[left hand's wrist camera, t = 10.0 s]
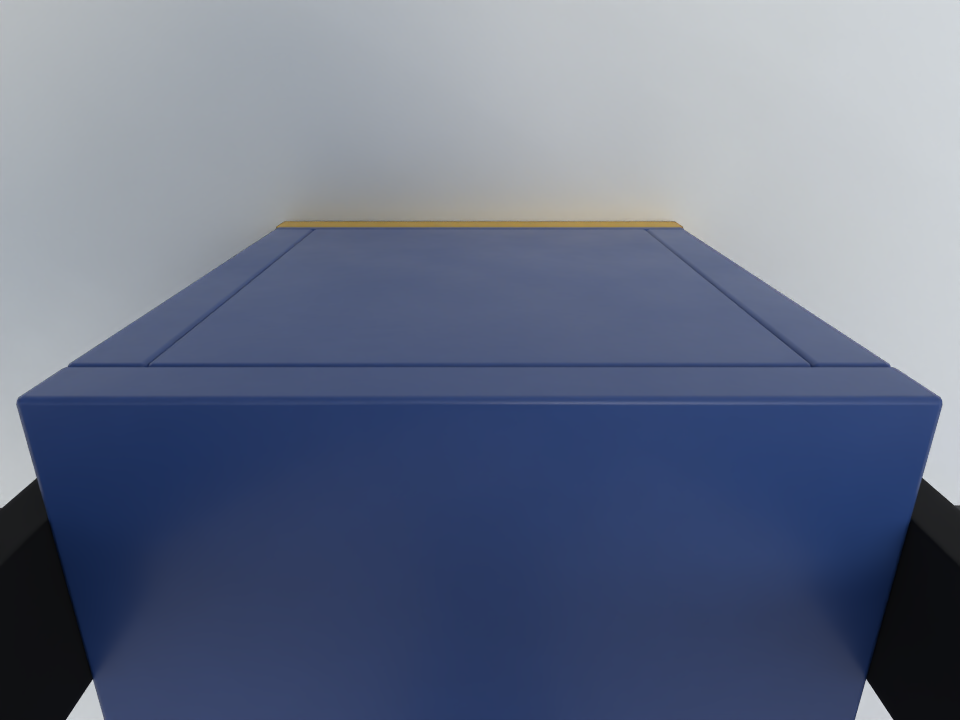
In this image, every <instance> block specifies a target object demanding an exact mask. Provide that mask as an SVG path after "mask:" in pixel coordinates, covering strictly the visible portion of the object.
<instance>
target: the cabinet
mask: <svg viewBox="0 0 960 720" xmlns="http://www.w3.org/2000/svg"><path fill="white" fill-rule="evenodd" d="M17 408H18V412H19V415H20V419H21V422H22V426H23V430H24V433H25V437H26V440H27V444H28V448H29V451H30V455H31V458H32V462H33V466H34V469H35V473H36V476H37V480H38V483H39V487H40V491H41V494H42V498H43V501H44V505H45V509H46V512H47V516H48V519H49V523H50V527H51V530H52V534H53V537H54V541H55V544H56V548H57V552H58V555H59V559H60V562H61V566H62V570H63V573H64V577H65V580H66V584H67V588H68V591H69V595H70V598H71V602H72V605H73V609H74V613H75V616H76V620H77V623H78V627H79V631H80V634H81V638H82V641H83V645H84V649H85V652H86V656H87V659H88V663H89V666H90V670H91V674H92V677H93V681H94V684H95V688H96V692H97V695H98V699H99V702H100V706H101V710H102V713H103V717H104V720H855V717H856V713H857V710H858V706H859V702H860V699H861V695H862V692H863V688H864V685H865V681H866V677H867V674H868V670H869V667H870V663H871V659H872V656H873V652H874V649H875V645H876V641H877V638H878V634H879V631H880V627H881V623H882V620H883V616H884V613H885V609H886V606H887V602H888V598H889V595H890V591H891V588H892V584H893V580H894V577H895V573H896V570H897V566H898V562H899V559H900V555H901V552H902V548H903V544H904V541H905V537H906V534H907V530H908V526H909V523H910V519H911V516H912V512H913V509H914V505H915V501H916V498H917V494H918V491H919V487H920V483H921V480H922V476H923V473H924V469H925V465H926V462H927V458H928V455H929V451H930V447H931V444H932V440H933V437H934V433H935V430H936V426H937V422H938V419H939V415H940V412H941V408H942V399H941V398H940V397H939V396H937V395H936V394H934V393H933V392H931V391H930V390H928V389H927V388H925V387H924V386H922V385H921V384H919V383H918V382H916V381H915V380H913V379H912V378H910V377H908V376H907V375H905V374H904V373H902V372H901V371H899V370H898V369H896V368H893V367H891V366H890V364H889V363H887V362H886V361H884V360H882V359H881V358H879V357H878V356H876V355H875V354H873V353H872V352H870V351H869V350H867V349H866V348H864V347H863V346H861V345H860V344H858V343H856V342H855V341H853V340H852V339H850V338H849V337H847V336H846V335H844V334H843V333H841V332H840V331H838V330H837V329H835V328H834V327H832V326H831V325H829V324H827V323H826V322H824V321H823V320H821V319H820V318H818V317H817V316H815V315H814V314H812V313H811V312H809V311H808V310H806V309H805V308H803V307H801V306H800V305H798V304H797V303H795V302H794V301H792V300H791V299H789V298H788V297H786V296H785V295H783V294H782V293H780V292H779V291H777V290H775V289H774V288H772V287H771V286H769V285H768V284H766V283H765V282H763V281H762V280H760V279H759V278H757V277H756V276H754V275H753V274H751V273H750V272H748V271H746V270H745V269H743V268H742V267H740V266H739V265H737V264H736V263H734V262H733V261H731V260H730V259H728V258H727V257H725V256H724V255H722V254H720V253H719V252H717V251H716V250H714V249H713V248H711V247H710V246H708V245H707V244H705V243H704V242H702V241H701V240H699V239H698V238H696V237H694V236H693V235H691V234H690V233H688V232H687V231H685V230H684V229H683V227H682V226H681V225H679V224H678V223H676V222H512V221H285V222H283V223H282V224H280V225H278V226H277V227H276V229H275V230H274V231H272V232H271V233H269V234H268V235H266V236H265V237H263V238H261V239H260V240H258V241H257V242H255V243H254V244H252V245H251V246H249V247H248V248H246V249H245V250H243V251H242V252H240V253H238V254H237V255H235V256H234V257H232V258H231V259H229V260H228V261H226V262H225V263H223V264H222V265H220V266H219V267H217V268H215V269H214V270H212V271H211V272H209V273H208V274H206V275H205V276H203V277H202V278H200V279H199V280H197V281H196V282H194V283H192V284H191V285H189V286H188V287H186V288H185V289H183V290H182V291H180V292H179V293H177V294H176V295H174V296H173V297H171V298H170V299H168V300H166V301H165V302H163V303H162V304H160V305H159V306H157V307H156V308H154V309H153V310H151V311H150V312H148V313H147V314H145V315H143V316H142V317H140V318H139V319H137V320H136V321H134V322H133V323H131V324H130V325H128V326H127V327H125V328H124V329H122V330H120V331H119V332H117V333H116V334H114V335H113V336H111V337H110V338H108V339H107V340H105V341H104V342H102V343H101V344H99V345H97V346H96V347H94V348H93V349H91V350H90V351H88V352H87V353H85V354H84V355H82V356H81V357H79V358H78V359H76V360H75V361H73V362H71V363H70V364H69V365H68V367H66V368H63V369H61V370H60V371H58V372H57V373H55V374H54V375H52V376H51V377H49V378H47V379H46V380H44V381H43V382H41V383H40V384H38V385H37V386H35V387H34V388H32V389H31V390H29V391H28V392H26V393H24V394H23V395H21V396H20V397H19V398H18V399H17Z"/></svg>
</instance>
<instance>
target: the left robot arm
mask: <svg viewBox="0 0 960 720" xmlns="http://www.w3.org/2000/svg"><path fill="white" fill-rule="evenodd" d="M866 679H867V681H868V682H869V684H870V685H871V687H872V688H873V690H874V691H875V693H876V694H877V696H878V697H879V699H880V700H881V702H882V703H883V705H884V706H885V708H886V709H887V711H888V712H889V714H890V715H891V717H892V718H893V720H960V506H954V505H953V504H952V503H951V502H949V501H948V500H947V499H946V498H945V497H944V496H943V495H941V494H940V493H939V492H938V491H937V490H936V489H934V488H933V487H932V486H931V485H930V484H929V483H927V482H926V481H925V480H924V479H923V478H922V480H921V483H920V487H919V491H918V494H917V498H916V501H915V505H914V509H913V512H912V516H911V519H910V523H909V526H908V530H907V534H906V537H905V541H904V544H903V548H902V552H901V555H900V559H899V562H898V566H897V570H896V573H895V577H894V580H893V584H892V588H891V591H890V595H889V598H888V602H887V606H886V609H885V613H884V616H883V620H882V623H881V627H880V631H879V634H878V638H877V641H876V645H875V649H874V652H873V656H872V659H871V663H870V667H869V670H868V674H867V677H866ZM92 680H93V677H92V674H91V670H90V666H89V663H88V659H87V656H86V652H85V649H84V645H83V641H82V638H81V634H80V631H79V627H78V623H77V620H76V616H75V613H74V609H73V605H72V602H71V598H70V595H69V591H68V588H67V584H66V580H65V577H64V573H63V570H62V566H61V562H60V559H59V555H58V552H57V548H56V544H55V541H54V537H53V534H52V530H51V527H50V523H49V519H48V516H47V512H46V509H45V505H44V501H43V498H42V494H41V491H40V487H39V483H38V480H37V478H36V479H35V480H34V481H33V482H32V483H31V484H29V485H28V486H27V487H26V488H25V489H24V490H22V491H21V492H20V493H19V494H18V495H17V496H16V497H14V498H13V499H12V500H11V501H10V502H9V503H7V504H6V505H5V506H4V507H3V508H0V720H66V719H67V717H68V716H69V714H70V713H71V711H72V710H73V708H74V707H75V705H76V704H77V702H78V701H79V699H80V698H81V696H82V695H83V693H84V692H85V690H86V689H87V687H88V686H89V684H90V683H91V681H92Z"/></svg>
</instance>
